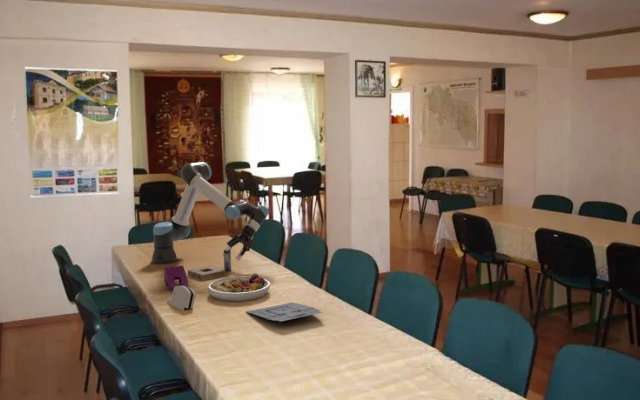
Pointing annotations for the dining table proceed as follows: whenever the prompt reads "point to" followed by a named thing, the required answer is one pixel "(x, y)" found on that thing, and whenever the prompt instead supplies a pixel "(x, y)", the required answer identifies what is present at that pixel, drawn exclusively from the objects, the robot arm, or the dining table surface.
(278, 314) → the grey flat panel
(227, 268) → the grey and black cylinder
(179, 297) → the napkin holder
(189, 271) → the socket block
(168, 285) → the mounting bracket
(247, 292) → the bowl
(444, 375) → the dining table surface
